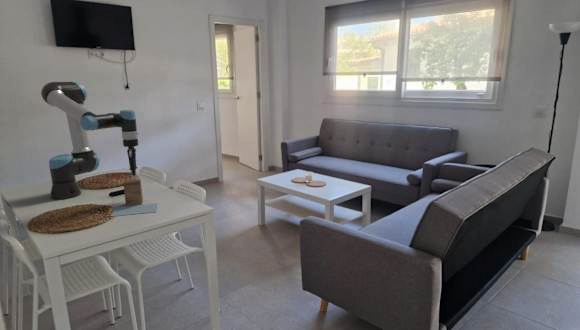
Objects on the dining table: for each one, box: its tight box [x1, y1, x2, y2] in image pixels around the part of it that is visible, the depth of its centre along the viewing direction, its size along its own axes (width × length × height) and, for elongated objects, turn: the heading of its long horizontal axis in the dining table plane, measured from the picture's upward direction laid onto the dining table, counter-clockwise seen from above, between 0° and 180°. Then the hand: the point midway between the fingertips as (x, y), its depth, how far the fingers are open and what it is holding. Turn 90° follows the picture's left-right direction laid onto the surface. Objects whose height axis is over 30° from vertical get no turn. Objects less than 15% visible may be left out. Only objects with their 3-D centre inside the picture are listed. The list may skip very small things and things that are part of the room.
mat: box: [111, 202, 158, 217], centre depth 186 cm, size 14×24×1 cm, turn 107°
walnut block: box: [122, 178, 144, 206], centre depth 195 cm, size 5×8×13 cm, turn 107°
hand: (134, 180), depth 202 cm, fingers closed
